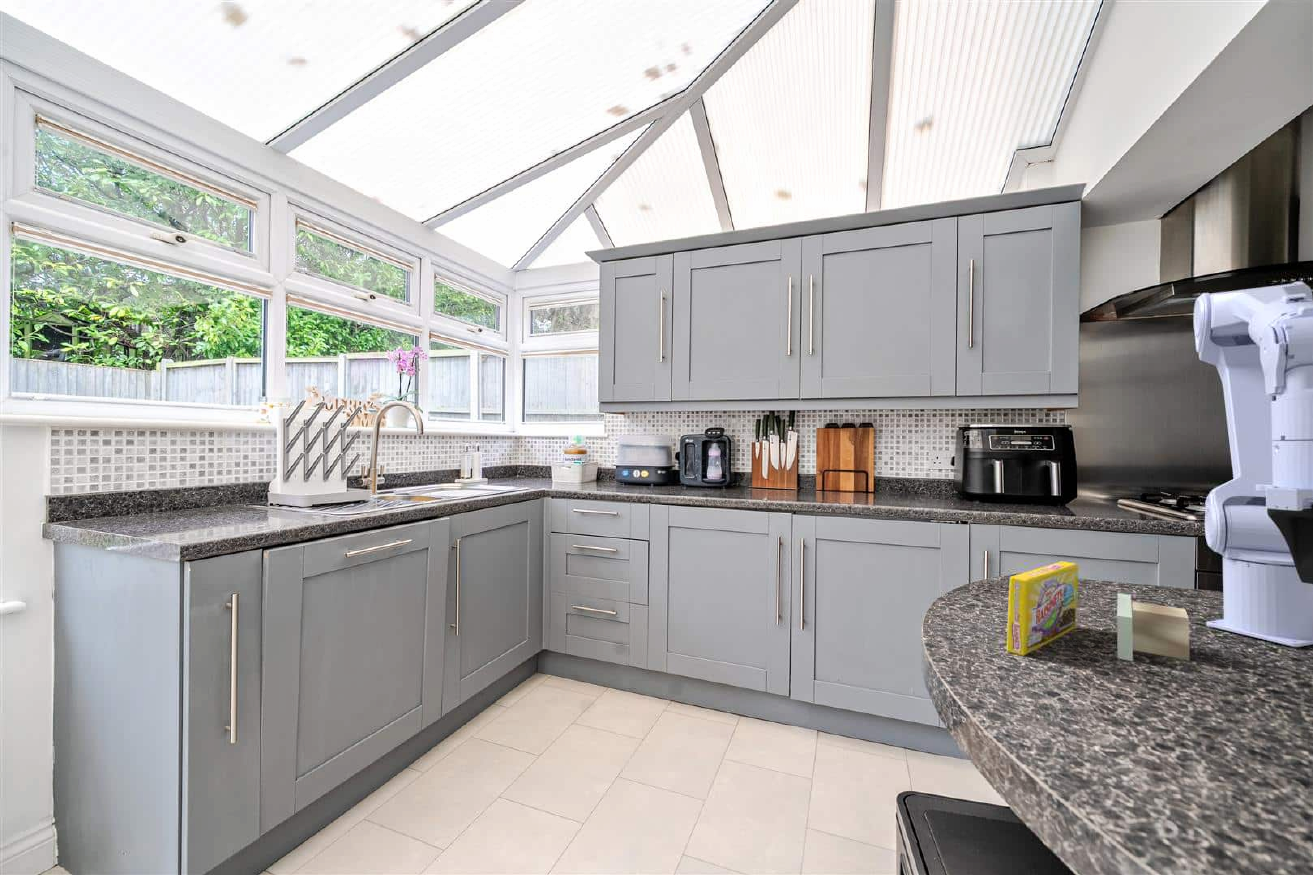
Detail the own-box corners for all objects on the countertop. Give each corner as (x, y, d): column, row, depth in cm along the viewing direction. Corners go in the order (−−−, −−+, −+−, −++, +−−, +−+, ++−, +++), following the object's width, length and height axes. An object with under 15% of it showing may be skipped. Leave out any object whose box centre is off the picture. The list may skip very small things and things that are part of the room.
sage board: (1131, 632, 65) (1130, 594, 65) (1132, 661, 56) (1132, 617, 56) (1118, 630, 66) (1117, 593, 66) (1117, 658, 57) (1117, 615, 57)
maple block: (1185, 649, 60) (1185, 609, 60) (1189, 661, 56) (1188, 618, 56) (1131, 639, 63) (1131, 601, 63) (1132, 650, 59) (1131, 609, 59)
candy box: (1027, 658, 57) (1027, 580, 57) (1005, 652, 58) (1004, 576, 58) (1079, 629, 66) (1078, 562, 66) (1058, 624, 68) (1058, 559, 68)
